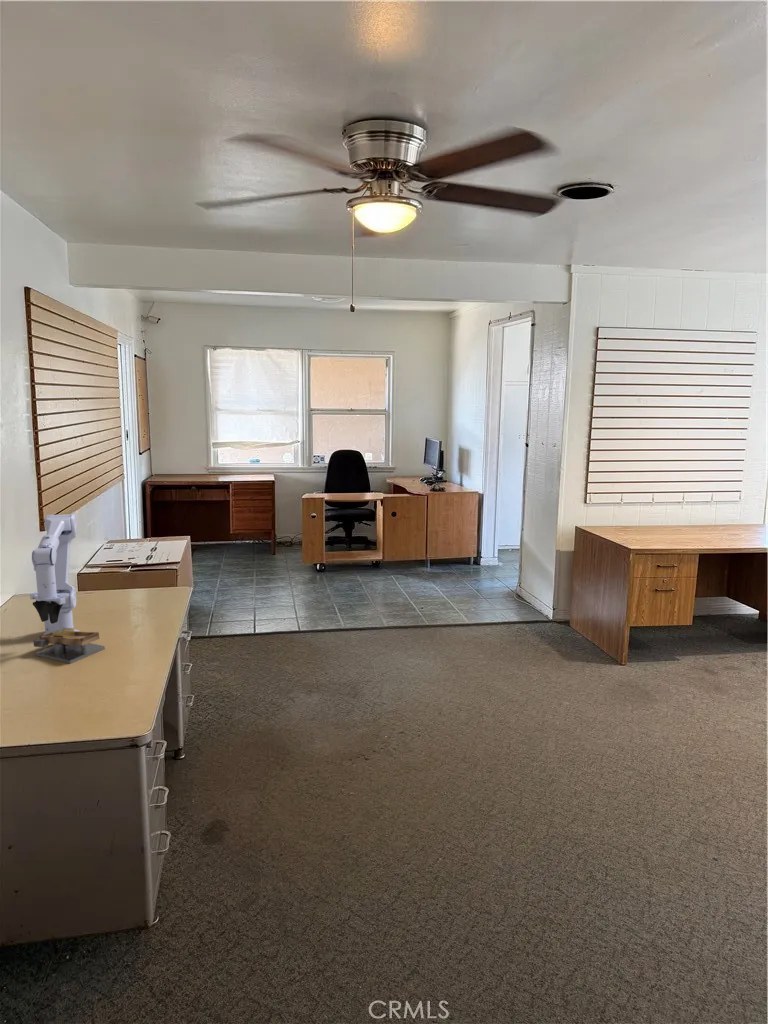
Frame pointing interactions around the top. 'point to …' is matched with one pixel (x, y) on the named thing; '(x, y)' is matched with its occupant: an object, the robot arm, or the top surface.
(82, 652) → the pivot stand
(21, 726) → the top surface
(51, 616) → the robot arm
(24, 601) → the top surface
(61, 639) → the brown wooden tray
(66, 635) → the yellow block
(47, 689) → the top surface
